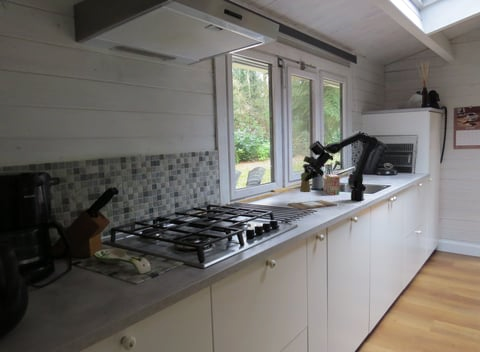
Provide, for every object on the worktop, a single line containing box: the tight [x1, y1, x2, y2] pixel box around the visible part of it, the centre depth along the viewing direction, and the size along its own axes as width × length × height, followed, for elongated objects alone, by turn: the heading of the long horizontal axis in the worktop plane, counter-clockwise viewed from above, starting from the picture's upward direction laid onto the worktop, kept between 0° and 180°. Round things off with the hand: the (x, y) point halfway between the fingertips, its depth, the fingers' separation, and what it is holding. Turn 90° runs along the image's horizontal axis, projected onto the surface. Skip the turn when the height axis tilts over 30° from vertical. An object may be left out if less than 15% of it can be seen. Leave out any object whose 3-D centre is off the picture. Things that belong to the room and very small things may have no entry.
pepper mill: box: [299, 172, 311, 193], centre depth 216 cm, size 6×6×11 cm
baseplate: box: [287, 199, 338, 211], centre depth 209 cm, size 24×14×1 cm, turn 117°
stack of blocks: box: [322, 173, 341, 196], centre depth 254 cm, size 21×6×12 cm, turn 179°
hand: (303, 180), depth 215 cm, fingers closed on pepper mill, 5 cm apart
